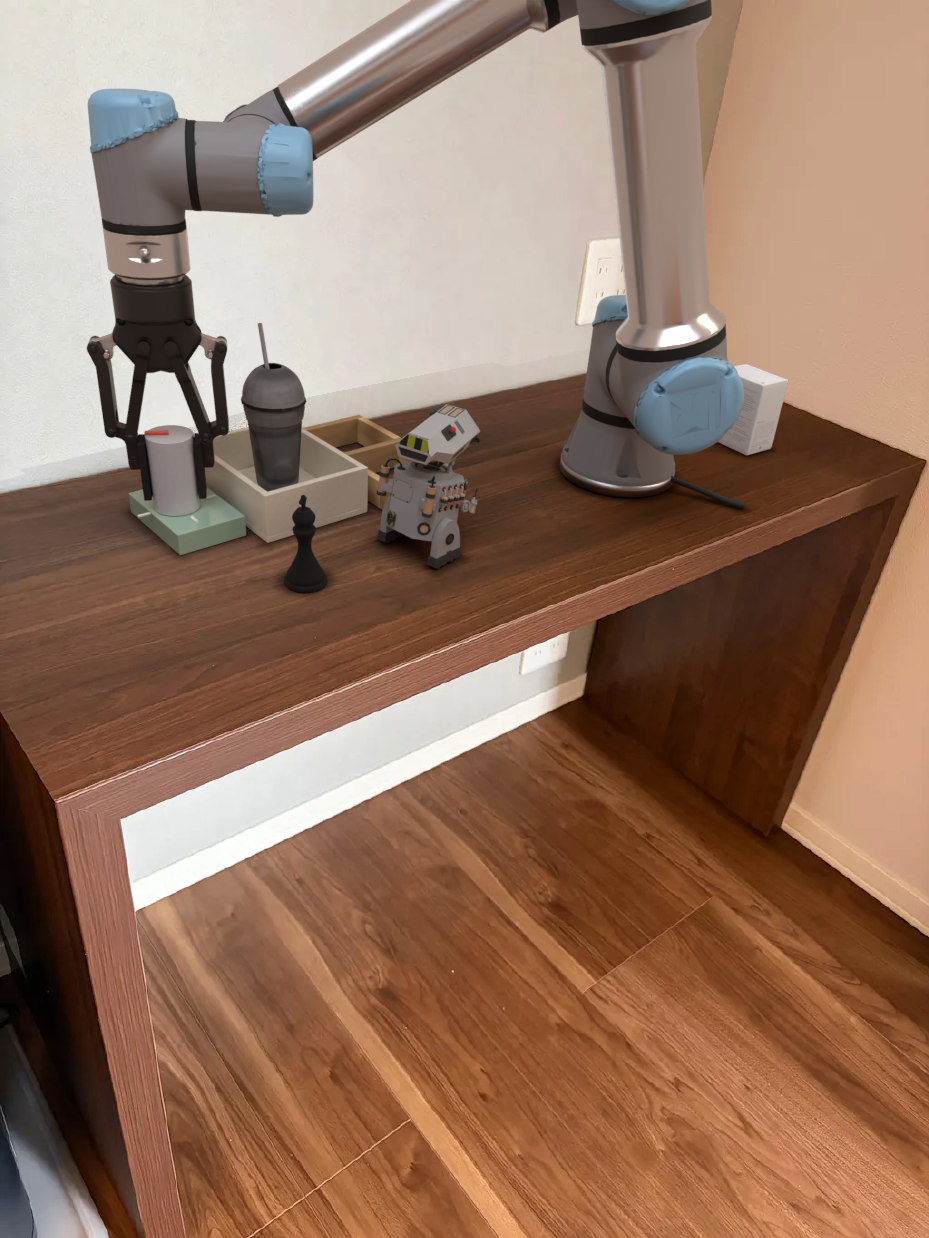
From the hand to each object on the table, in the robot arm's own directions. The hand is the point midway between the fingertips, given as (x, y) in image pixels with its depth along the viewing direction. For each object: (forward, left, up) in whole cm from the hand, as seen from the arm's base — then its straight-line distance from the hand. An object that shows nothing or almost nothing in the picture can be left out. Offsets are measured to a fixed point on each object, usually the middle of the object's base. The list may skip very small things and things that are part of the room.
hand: (176, 493), depth 101 cm
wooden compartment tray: (0, -26, -4) cm, 27 cm away
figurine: (-19, -21, -4) cm, 29 cm away
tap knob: (0, 0, -2) cm, 2 cm away
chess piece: (-18, -5, -4) cm, 19 cm away
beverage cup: (0, -13, -3) cm, 13 cm away
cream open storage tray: (0, -13, -4) cm, 13 cm away
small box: (-21, -78, -4) cm, 81 cm away
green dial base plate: (0, -1, -4) cm, 4 cm away
